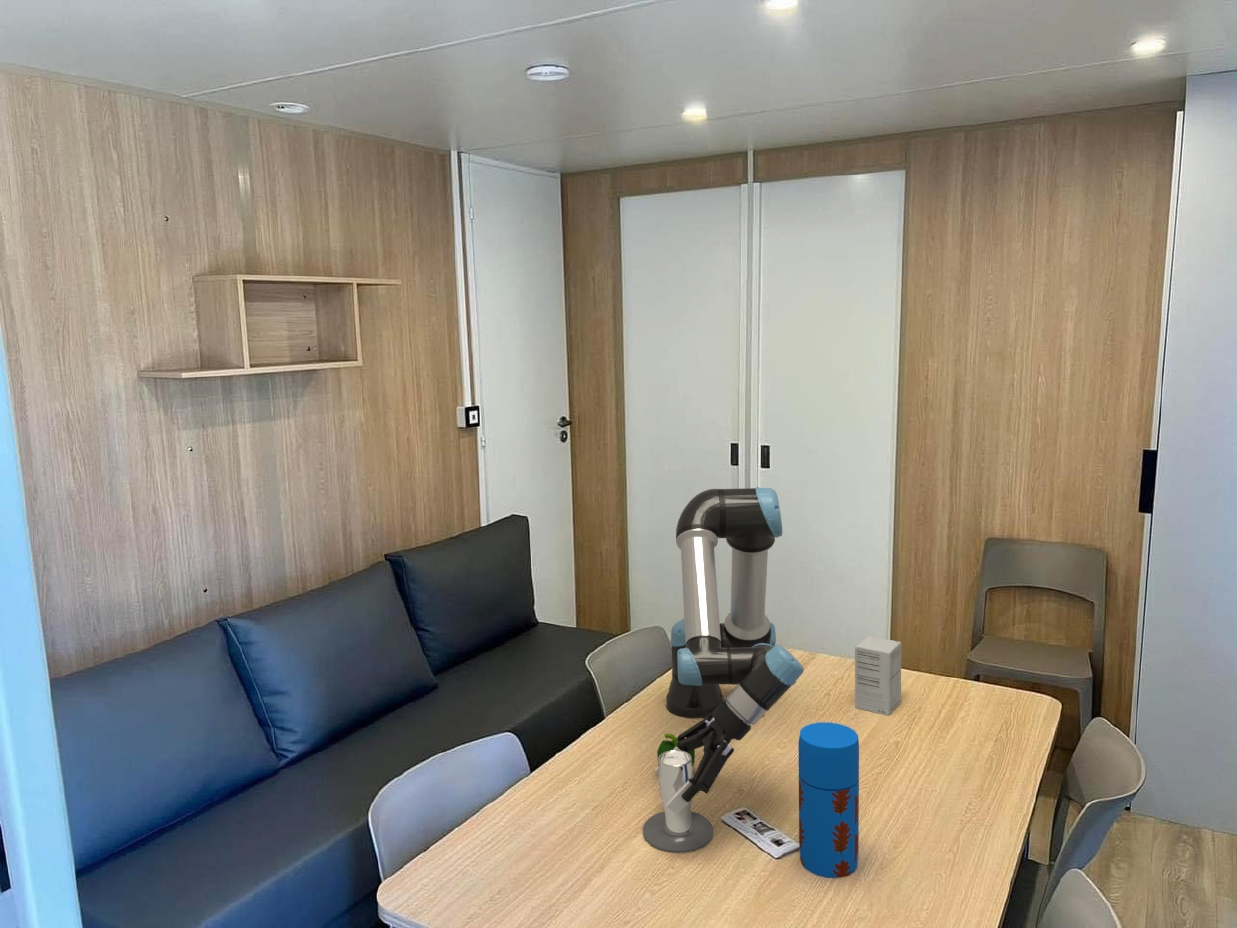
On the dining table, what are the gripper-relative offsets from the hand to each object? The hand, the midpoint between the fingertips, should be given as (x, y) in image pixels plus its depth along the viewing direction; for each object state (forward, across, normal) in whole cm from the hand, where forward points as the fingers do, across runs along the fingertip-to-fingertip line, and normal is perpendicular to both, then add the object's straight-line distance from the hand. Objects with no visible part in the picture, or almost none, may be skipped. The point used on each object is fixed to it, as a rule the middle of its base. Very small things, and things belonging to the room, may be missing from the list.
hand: (665, 791), depth 176 cm
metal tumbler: (+4, 0, -8) cm, 9 cm away
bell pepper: (+2, +22, -11) cm, 24 cm away
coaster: (+5, 0, -8) cm, 9 cm away
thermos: (-14, -14, -26) cm, 33 cm away
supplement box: (-39, +48, -52) cm, 81 cm away
